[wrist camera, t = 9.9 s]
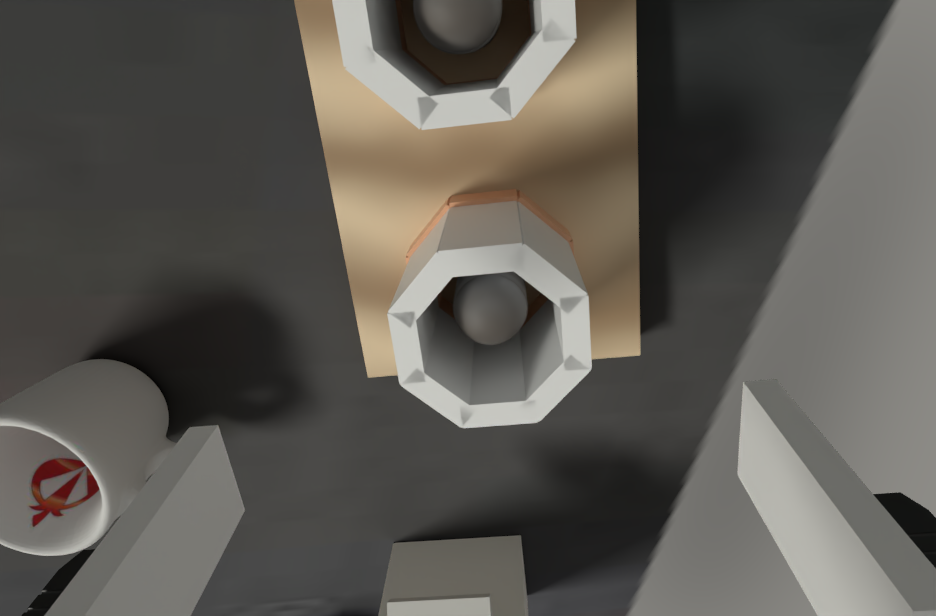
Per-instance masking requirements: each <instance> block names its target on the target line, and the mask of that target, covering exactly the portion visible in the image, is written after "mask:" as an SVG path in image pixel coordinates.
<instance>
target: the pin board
mask: <svg viewBox="0 0 936 616" xmlns="http://www.w3.org/2000/svg"><path fill="white" fill-rule="evenodd" d="M294 1H295V7H296V12H297V17H298V22H299V27H300V32H301V37H302V42H303V48H304V53H305V58H306V63H307V68H308V73H309V78H310V83H311V88H312V94H313V99H314V104H315V109H316V114H317V119H318V124H319V129H320V134H321V140H322V145H323V150H324V155H325V160H326V165H327V170H328V175H329V181H330V186H331V191H332V196H333V201H334V206H335V211H336V216H337V221H338V227H339V232H340V237H341V242H342V247H343V252H344V257H345V262H346V267H347V273H348V278H349V283H350V288H351V293H352V298H353V303H354V308H355V314H356V319H357V324H358V329H359V334H360V339H361V344H362V349H363V354H364V360H365V365H366V370H367V375H368V378H369V377H381V376H393V375H398V372H397V367H396V361H395V355H394V350H393V344H392V338H391V333H390V327H389V321H388V316H387V313H388V310H389V308H390V305H391V303H392V300H393V298H394V295H395V293H396V291H397V288H398V286H399V283H400V281H401V278H402V276H403V274H404V271H405V269H406V266H407V265H406V254H407V252H408V250H409V248H410V245H411V244H412V243H413V242H414V240H415V239H416V238H417V237H418V235H419V234H420V233H421V232H422V230H423V229H424V228H425V226H426V225H427V224H428V223H429V221H430V220H431V219H432V218H433V216H434V215H435V214H436V213H437V211H438V210H439V209H440V208H441V206H442V205H443V204H444V203H445V201H446V200H447V199H448V198H451V196H453V195H462V194H472V193H481V192H491V191H500V190H510V189H516V190H517V192H518V190H520V191H521V192H523V193H524V194H525V195H526V196H527V197H529V198H530V199H531V200H532V201H534V202H535V203H536V204H537V205H538V206H540V207H541V208H542V209H543V210H545V211H546V212H547V213H548V214H549V215H551V216H552V217H553V218H554V219H556V220H557V221H558V222H559V223H560V224H562V225H563V226H564V227H565V228H567V229H568V230H569V232H570V235H571V237H572V240H573V247H574V258H575V261H576V264H577V266H578V269H579V272H580V274H581V277H582V280H583V282H584V285H585V288H586V290H587V293H588V296H589V318H590V340H591V359H601V358H613V357H625V356H638V355H640V280H639V199H638V119H637V38H636V0H575V13H576V35H577V38H576V39H574V40H575V42H574V44H573V45H572V46H571V48H570V49H569V50H568V51H567V53H566V54H565V55H564V56H563V58H562V59H561V60H560V61H559V63H558V64H557V65H556V66H555V68H554V69H553V70H552V71H551V73H550V74H549V75H548V76H547V78H546V79H545V80H544V81H543V83H542V84H541V85H540V86H539V88H538V89H537V90H536V91H535V93H534V94H533V95H532V96H531V98H530V99H529V100H528V102H527V103H526V104H525V105H524V107H523V108H522V109H521V110H520V112H519V113H518V114H517V115H516V117H515V118H512V120H507V121H498V122H489V123H480V124H471V125H463V126H454V127H445V128H436V129H427V130H422V129H421V128H420V129H418V128H417V127H416V126H415V125H413V124H412V123H411V122H410V121H408V120H407V119H406V118H405V117H403V116H402V115H401V114H400V113H399V112H397V111H396V110H395V109H394V108H392V107H391V106H390V105H389V104H387V103H386V102H385V101H384V100H382V99H381V98H380V97H379V96H378V95H376V94H375V93H374V92H373V91H371V90H370V89H369V88H368V87H366V86H365V85H364V84H363V83H362V82H360V81H359V80H358V79H357V78H355V77H354V76H353V75H352V74H350V73H349V72H348V71H347V70H345V69H346V67H344V66H343V60H342V54H341V49H340V43H339V37H338V31H337V26H336V20H335V14H334V9H333V3H332V0H294ZM400 2H401V10H402V17H403V24H404V31H405V38H406V46H407V50H408V51H409V52H410V53H412V54H413V55H414V56H415V57H416V58H418V59H419V60H420V61H421V62H422V63H424V64H425V65H426V66H427V67H428V68H430V69H431V70H432V71H433V72H434V73H435V74H437V75H438V76H439V77H440V78H441V79H443V80H444V81H445V82H446V83H454V82H463V81H471V80H479V79H488V78H496V77H497V76H498V75H499V74H500V72H501V71H502V70H503V69H504V67H505V66H506V65H507V63H508V62H509V61H510V59H511V58H512V57H513V55H514V54H515V53H516V52H517V50H518V49H519V48H520V46H521V45H522V44H523V42H524V41H525V40H526V38H527V37H528V36H529V35H530V34H529V20H528V5H527V0H400ZM540 294H541V292H539V291H538V290H537V289H536V288H534V287H533V286H532V285H531V284H529V283H528V282H527V281H525V280H524V279H523V278H522V277H520V276H519V275H518V274H516V273H515V272H514V271H513V272H503V273H492V274H481V275H471V276H460V277H452V279H451V280H450V281H449V282H448V283H447V285H446V286H445V287H444V288H443V289H442V291H441V296H442V297H444V298H445V299H446V300H448V301H449V302H450V303H452V304H453V314H454V318H455V321H456V323H457V325H458V326H459V328H460V329H461V331H462V332H463V333H464V334H465V335H466V336H467V337H468V338H470V339H471V340H473V341H475V342H477V343H480V344H485V345H496V344H500V343H503V342H506V341H508V340H509V339H511V338H512V337H514V336H515V335H516V334H517V333H518V331H519V330H520V329H521V327H522V326H523V324H524V322H525V320H526V317H527V312H528V307H529V306H530V305H531V304H532V303H533V301H534V300H535V299H536V298H537V297H538V296H539V295H540Z"/></svg>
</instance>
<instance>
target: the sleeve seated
mask: <svg viewBox="0 0 936 616" xmlns="http://www.w3.org/2000/svg"><path fill="white" fill-rule="evenodd" d="M332 3H333V9H334V14H335V20H336V26H337V31H338V37H339V43H340V49H341V54H342V60H343V66H344V67H346V69H345V70H347V71H348V72H349V73H350V74H352V75H353V76H354V77H355V78H357V79H358V80H359V81H360V82H362V83H363V84H364V85H365V86H366V87H368V88H369V89H370V90H371V91H373V92H374V93H375V94H376V95H378V96H379V97H380V98H381V99H382V100H384V101H385V102H386V103H387V104H389V105H390V106H391V107H392V108H394V109H395V110H396V111H397V112H399V113H400V114H401V115H402V116H403V117H405V118H406V119H407V120H408V121H410V122H411V123H412V124H413V125H415V126H416V127H417V128H418V129H420V128H421V129H422V130H427V129H436V128H445V127H454V126H463V125H471V124H480V123H489V122H498V121H507V120H512V118H515V117H516V115H517V114H518V113H519V112H520V110H521V109H522V108H523V107H524V105H525V104H526V103H527V102H528V100H529V99H530V98H531V96H532V95H533V94H534V93H535V91H536V90H537V89H538V88H539V86H540V85H541V84H542V83H543V81H544V80H545V79H546V78H547V76H548V75H549V74H550V73H551V71H552V70H553V69H554V68H555V66H556V65H557V64H558V63H559V61H560V60H561V59H562V58H563V56H564V55H565V54H566V53H567V51H568V50H569V49H570V48H571V46H572V45H573V44H574V42H575V40H574V39H576V38H577V35H576V13H575V0H527V5H528V20H529V34H530V35H529V36H528V37H527V38H526V40H525V41H524V42H523V44H522V45H521V46H520V48H519V49H518V50H517V52H516V53H515V54H514V55H513V57H512V58H511V59H510V61H509V62H508V63H507V65H506V66H505V67H504V69H503V70H502V71H501V72H500V74H499V75H498V76H497V77H496V78H488V79H479V80H471V81H463V82H454V83H446V82H445V81H444V80H443V79H441V78H440V77H439V76H438V75H437V74H435V73H434V72H433V71H432V70H431V69H430V68H428V67H427V66H426V65H425V64H424V63H422V62H421V61H420V60H419V59H418V58H416V57H415V56H414V55H413V54H412V53H410V52H409V51H408V50H407V46H406V38H405V31H404V24H403V17H402V10H401V2H400V0H332Z"/></svg>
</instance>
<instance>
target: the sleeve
mask: <svg viewBox="0 0 936 616" xmlns="http://www.w3.org/2000/svg"><path fill="white" fill-rule="evenodd" d="M406 265H407V266H406V269H405V271H404V274H403V276H402V278H401V281H400V283H399V286H398V288H397V291H396V293H395V295H394V298H393V300H392V303H391V305H390V308H389V310H388V313H387V316H388V321H389V327H390V333H391V338H392V344H393V350H394V355H395V361H396V367H397V372H398V378H399V384H401V386H402V387H403V388H405V389H406V390H408V391H409V392H410V393H412V394H413V395H415V396H416V397H418V398H419V399H420V400H422V401H423V402H425V403H426V404H428V405H429V406H430V407H432V408H433V409H435V410H436V411H438V412H439V413H440V414H442V415H443V416H445V417H446V418H448V419H449V420H450V421H452V422H453V423H455V424H456V425H458V426H459V427H460V428H461V427H463V428H473V427H487V426H500V425H513V424H527V423H538V422H537V421H539V422H540V421H541V420H542V419H543V418H544V417H545V416H546V415H547V414H548V413H549V412H550V411H551V410H552V409H553V408H554V407H555V406H556V405H557V404H558V403H559V402H560V401H561V400H562V399H563V398H564V397H565V396H566V395H567V394H568V393H569V392H570V391H571V390H572V389H573V388H574V387H575V386H576V385H577V384H578V383H579V382H580V381H581V380H582V379H583V378H584V377H585V376H586V375H587V374H588V373H589V372H590V371H591V369H592V362H591V340H590V318H589V296H588V293H587V290H586V288H585V285H584V282H583V280H582V277H581V274H580V272H579V269H578V266H577V264H576V261H575V258H574V247H573V240H572V237H571V235H570V232H569V230H568V229H567V228H565V227H564V226H563V225H562V224H560V223H559V222H558V221H557V220H556V219H554V218H553V217H552V216H551V215H549V214H548V213H547V212H546V211H545V210H543V209H542V208H541V207H540V206H538V205H537V204H536V203H535V202H534V201H532V200H531V199H530V198H529V197H527V196H526V195H525V194H524V193H523V192H521V191H520V190H518V192H517V190H516V189H510V190H500V191H491V192H481V193H472V194H462V195H453V196H451V198H448V199H447V200H446V201H445V203H444V204H443V205H442V206H441V208H440V209H439V210H438V211H437V213H436V214H435V215H434V216H433V218H432V219H431V220H430V221H429V223H428V224H427V225H426V226H425V228H424V229H423V230H422V232H421V233H420V234H419V235H418V237H417V238H416V239H415V240H414V242H413V243H412V244H411V245H410V248H409V250H408V252H407V254H406ZM513 271H514V272H515V273H516V274H518V275H519V276H520V277H522V278H523V279H524V280H525V281H527V282H528V283H529V284H531V285H532V286H533V287H534V288H536V289H537V290H538V291H539V292H541V294H540V295H539V296H538V297H537V298H536V299H535V300H534V301H533V303H532V304H531V305H530V306H529V307H528V312H527V317H526V320H525V322H524V324H523V326H522V327H521V329H520V330H519V331H518V333H517V334H516V335H515V336H514V337H512V338H511V339H509V340H508V341H506V342H503V343H500V344H496V345H485V344H480V343H477V342H475V341H473V340H471V339H470V338H468V337H467V336H466V335H465V334H464V333H463V332H462V331H461V329H460V328H459V326H458V325H457V323H456V321H455V318H454V314H453V304H452V303H450V302H449V301H448V300H446V299H445V298H444V297H442V296H441V291H442V289H443V288H444V287H445V286H446V285H447V283H448V282H449V281H450V280H451V279H452V277H460V276H471V275H481V274H492V273H503V272H513Z"/></svg>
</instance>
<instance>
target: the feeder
mask: <svg viewBox="0 0 936 616" xmlns="http://www.w3.org/2000/svg"><path fill="white" fill-rule="evenodd" d="M378 616H528V602H527V590H526V580H525V571H524V561H523V551H522V542H521V535H517V536H500V537H484V538H467V539H450V540H434V541H417V542H401V543H393V547H392V552H391V557H390V562H389V567H388V572H387V576H386V581H385V586H384V591H383V596H382V600H381V605H380V610H379V615H378Z"/></svg>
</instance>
